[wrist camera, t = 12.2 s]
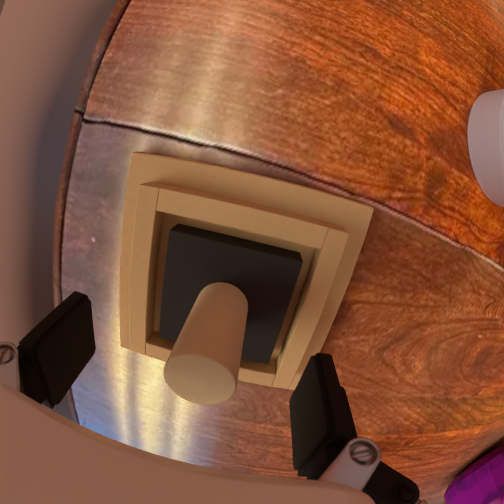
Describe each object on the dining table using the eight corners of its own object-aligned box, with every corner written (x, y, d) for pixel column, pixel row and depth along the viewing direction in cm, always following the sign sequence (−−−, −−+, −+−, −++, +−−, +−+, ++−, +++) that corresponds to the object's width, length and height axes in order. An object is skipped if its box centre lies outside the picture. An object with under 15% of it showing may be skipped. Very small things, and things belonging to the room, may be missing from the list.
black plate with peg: (165, 324, 18) (120, 406, 11) (177, 223, 15) (110, 276, 8) (268, 349, 18) (266, 443, 11) (300, 252, 15) (323, 329, 8)
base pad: (125, 339, 20) (112, 358, 17) (139, 151, 15) (119, 151, 13) (299, 382, 20) (302, 405, 18) (369, 205, 15) (385, 213, 13)
